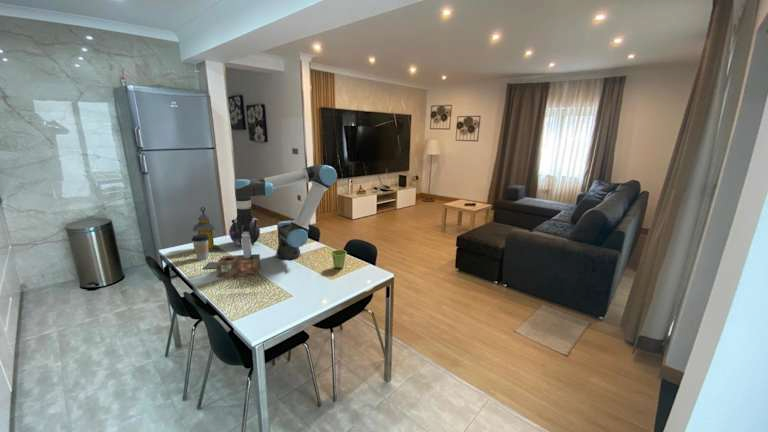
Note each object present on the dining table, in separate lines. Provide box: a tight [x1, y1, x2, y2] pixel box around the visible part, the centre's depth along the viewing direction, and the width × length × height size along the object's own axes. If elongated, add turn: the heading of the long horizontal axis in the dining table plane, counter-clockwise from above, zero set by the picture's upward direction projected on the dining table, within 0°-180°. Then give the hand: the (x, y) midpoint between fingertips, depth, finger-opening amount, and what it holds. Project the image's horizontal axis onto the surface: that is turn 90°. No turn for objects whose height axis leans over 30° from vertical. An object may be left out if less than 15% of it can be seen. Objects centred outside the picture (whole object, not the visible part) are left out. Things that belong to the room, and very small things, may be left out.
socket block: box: [215, 253, 262, 278], centre depth 172 cm, size 20×12×8 cm, turn 101°
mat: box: [202, 261, 218, 270], centre depth 181 cm, size 10×10×1 cm
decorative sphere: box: [228, 220, 261, 247], centre depth 216 cm, size 19×20×20 cm
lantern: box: [192, 206, 220, 255], centre depth 204 cm, size 14×14×30 cm
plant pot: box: [330, 249, 348, 268], centre depth 184 cm, size 9×9×9 cm
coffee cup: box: [191, 234, 209, 262], centre depth 190 cm, size 9×9×15 cm
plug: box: [242, 232, 253, 260], centre depth 171 cm, size 4×4×16 cm
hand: (247, 248), depth 171 cm, fingers closed on plug, 3 cm apart
